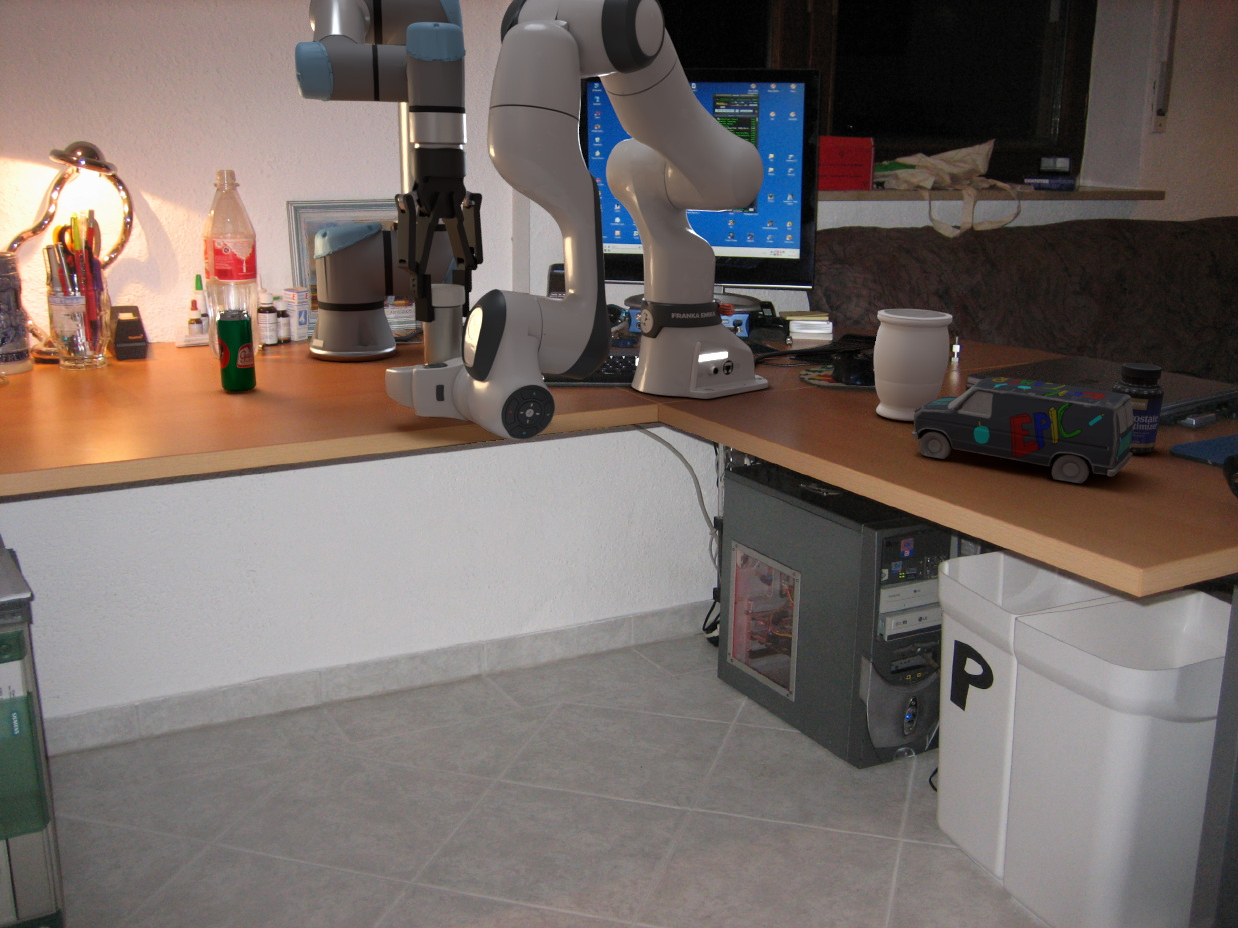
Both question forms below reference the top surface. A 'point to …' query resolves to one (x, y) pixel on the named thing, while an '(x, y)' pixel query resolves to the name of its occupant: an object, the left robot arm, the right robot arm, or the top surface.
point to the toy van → (1032, 426)
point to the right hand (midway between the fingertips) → (441, 368)
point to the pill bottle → (1142, 402)
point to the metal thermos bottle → (443, 334)
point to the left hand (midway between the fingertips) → (442, 318)
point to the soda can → (236, 350)
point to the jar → (910, 360)
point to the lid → (447, 294)
